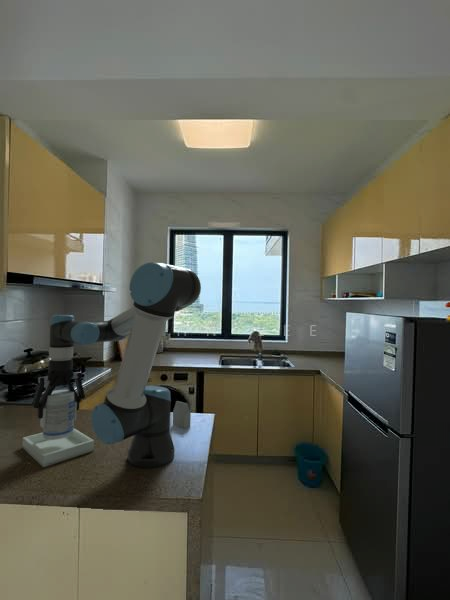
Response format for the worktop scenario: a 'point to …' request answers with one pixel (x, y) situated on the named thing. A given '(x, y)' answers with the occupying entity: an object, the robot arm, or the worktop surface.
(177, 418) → the grey block
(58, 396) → the supplement tub
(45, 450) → the tray
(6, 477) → the worktop surface
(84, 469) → the worktop surface
